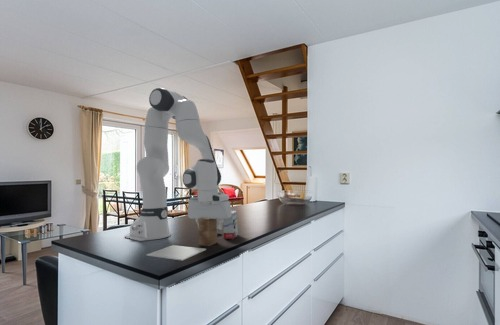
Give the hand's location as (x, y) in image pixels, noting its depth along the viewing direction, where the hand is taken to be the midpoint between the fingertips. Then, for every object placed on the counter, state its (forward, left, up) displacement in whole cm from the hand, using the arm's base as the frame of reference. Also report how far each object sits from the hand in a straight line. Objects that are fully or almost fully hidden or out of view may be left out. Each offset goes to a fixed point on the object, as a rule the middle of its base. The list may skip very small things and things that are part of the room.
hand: (209, 229), depth 116 cm
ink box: (+2, +14, -6) cm, 15 cm away
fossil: (-10, +15, -6) cm, 19 cm away
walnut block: (-1, 0, -6) cm, 6 cm away
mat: (-5, -15, -6) cm, 17 cm away
